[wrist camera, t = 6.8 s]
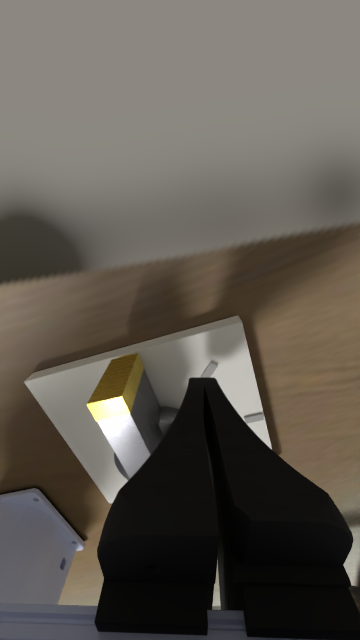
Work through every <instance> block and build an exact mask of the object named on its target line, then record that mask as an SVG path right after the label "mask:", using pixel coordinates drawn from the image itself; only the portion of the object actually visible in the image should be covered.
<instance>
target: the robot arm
mask: <svg viewBox="0 0 360 640" xmlns="http://www.w3.org/2000/svg"><path fill="white" fill-rule="evenodd" d="M352 543H353V536H352V533H351V531H350V529H349V527H348V525H347V523H346V521H345V520H344V518H343V516H342V514H341V513H340V511H339V510H338V508H337V507H336V505H335V504H334V502H333V500H332V499H331V497H330V496H329V494H328V493H327V492H325V491H324V490H322V489H321V488H320V487H318V486H317V485H315V484H314V483H313V482H311V481H310V480H308V479H307V478H306V477H304V476H303V475H301V474H300V473H299V472H297V471H296V470H295V469H294V468H292V467H291V466H290V465H289V464H287V463H286V462H285V461H284V460H283V459H282V458H281V457H279V456H278V455H277V454H276V453H275V452H274V451H273V450H272V449H270V448H269V447H268V446H267V445H266V444H265V443H264V442H263V441H262V440H261V439H260V438H259V437H258V436H257V435H256V434H255V433H254V431H253V430H252V429H251V428H250V427H249V426H248V425H247V424H246V422H245V421H244V420H243V419H242V418H241V416H240V415H239V414H238V412H237V411H236V410H235V408H234V407H233V406H232V404H231V403H230V401H229V400H228V398H227V397H226V395H225V394H224V392H223V391H222V389H221V387H220V385H219V384H218V382H217V380H216V379H215V378H214V377H191V378H190V379H189V382H188V387H187V391H186V394H185V396H184V399H183V402H182V404H181V406H180V409H179V411H178V413H177V415H176V417H175V419H174V421H173V422H172V424H171V426H170V428H169V429H168V431H167V433H166V434H165V436H164V437H163V439H162V440H161V442H160V443H159V444H158V446H157V447H156V449H155V450H154V451H153V453H152V454H151V455H150V456H149V458H148V459H147V460H146V461H145V462H144V464H143V465H142V466H141V467H140V468H139V470H138V471H137V472H136V473H135V474H134V475H133V476H132V477H131V478H130V479H129V480H128V481H127V482H126V483H125V484H124V486H123V487H122V488H121V489H120V490H119V491H118V493H117V495H116V497H115V499H114V501H113V504H112V506H111V508H110V510H109V513H108V516H107V518H106V521H105V524H104V527H103V530H102V534H101V538H100V541H99V545H98V549H97V556H98V560H99V563H100V566H101V569H102V573H103V576H104V582H103V586H102V591H101V595H100V599H99V604H98V606H79V605H57V604H58V601H59V598H60V595H61V592H62V589H63V587H64V584H65V581H66V578H67V575H68V572H69V569H70V566H71V563H72V560H73V557H74V554H75V551H79V550H83V549H84V546H85V543H84V541H83V540H82V539H81V538H80V537H79V536H78V534H77V533H76V532H75V531H74V530H73V529H72V527H71V526H70V525H69V524H68V523H67V522H66V520H65V519H64V518H63V517H62V516H61V515H60V513H59V512H58V511H57V510H56V509H55V508H54V506H53V505H52V504H51V503H50V502H49V501H48V499H47V498H46V497H45V496H44V495H43V494H42V492H41V491H40V490H38V489H35V488H33V489H28V490H22V491H17V492H12V493H7V494H2V495H0V640H360V612H359V610H358V608H357V605H356V603H355V601H354V599H353V597H352V594H351V592H350V590H349V588H348V587H350V586H351V582H350V579H349V577H348V575H347V573H346V570H345V568H344V566H343V564H344V562H345V560H346V558H347V556H348V554H349V552H350V550H351V547H352ZM217 557H218V571H219V586H220V601H221V610H212V603H213V591H214V584H215V580H216V568H217Z"/></svg>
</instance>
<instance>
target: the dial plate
mask: <svg viewBox="0 0 360 640" xmlns="http://www.w3.org/2000/svg"><path fill="white" fill-rule="evenodd" d="M136 353H138V354H139V356H140V359H141V361H142V363H143V366H144V369H145V372H146V374H147V376H148V379H149V381H150V384H151V386H152V388H153V391H154V393H155V395H156V398H157V400H158V402H159V405H160V407H172V408H176V409H180V406H181V404H182V402H183V399H184V396H185V394H186V391H187V387H188V382H189V379H190V378H191V377H214V378H215V379H216V380H217V382H218V384H219V385H220V387H221V389H222V391H223V392H224V394H225V395H226V397H227V398H228V400H229V401H230V403H231V404H232V406H233V407H234V408H235V410H236V411H237V412H238V414H239V415H240V416H241V418H242V419H243V420H244V421H245V422H246V424H247V425H248V426H249V427H250V428H251V429H252V430H253V431H254V433H255V434H256V435H257V436H258V437H259V438H260V439H261V440H262V441H263V442H264V443H265V444H266V445H267V446H268V447H269V448H270V449H272V447H271V442H270V438H269V434H268V430H267V425H266V421H265V417H264V413H263V408H262V404H261V400H260V396H259V392H258V387H257V383H256V379H255V375H254V370H253V366H252V362H251V358H250V354H249V349H248V345H247V341H246V337H245V332H244V328H243V324H242V321H241V319H240V318H239V316H238V315H237V316H233V317H230V318H226V319H223V320H219V321H215V322H212V323H208V324H205V325H201V326H198V327H194V328H191V329H187V330H183V331H180V332H176V333H173V334H169V335H166V336H162V337H158V338H155V339H151V340H148V341H144V342H141V343H137V344H133V345H130V346H126V347H123V348H119V349H116V350H112V351H109V352H105V353H101V354H98V355H94V356H91V357H87V358H84V359H80V360H76V361H73V362H69V363H66V364H62V365H59V366H55V367H52V368H48V369H44V370H41V371H37V372H34V373H33V374H32V375H30V376H29V377H28V378H27V379H26V380H25V381H24V383H25V384H26V386H27V387H28V389H29V390H30V392H31V393H32V394H33V396H34V397H35V399H36V400H37V401H38V403H39V404H40V406H41V407H42V409H43V410H44V411H45V413H46V414H47V416H48V417H49V418H50V420H51V421H52V423H53V424H54V426H55V427H56V428H57V430H58V431H59V433H60V434H61V436H62V437H63V438H64V440H65V441H66V443H67V444H68V445H69V447H70V448H71V450H72V451H73V453H74V454H75V455H76V457H77V458H78V460H79V461H80V463H81V464H82V465H83V467H84V468H85V470H86V471H87V472H88V474H89V475H90V477H91V478H92V480H93V481H94V482H95V484H96V485H97V487H98V488H99V489H100V491H101V492H102V494H103V495H104V497H105V498H106V499H107V501H108V502H109V503H113V501H114V499H115V497H116V495H117V493H118V491H119V490H120V489H121V488H122V487H123V486H124V484H125V483H126V482H127V481H128V480H127V479H126V478H125V477H124V476H123V475H122V474H121V473H120V472H119V470H118V469H117V467H116V465H115V461H114V450H113V448H112V447H111V445H110V443H109V441H108V440H107V438H106V436H105V434H104V433H103V431H102V429H101V427H100V426H99V424H98V422H97V421H96V420H95V418H94V417H93V415H92V413H91V411H90V410H89V408H88V406H87V405H86V404H87V402H88V401H89V399H90V397H91V395H92V394H93V392H94V390H95V388H96V386H97V385H98V383H99V381H100V379H101V377H102V376H103V374H104V372H105V370H106V368H107V367H108V365H109V363H110V361H111V360H112V359H116V358H120V357H124V356H128V355H132V354H136Z"/></svg>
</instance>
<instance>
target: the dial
mask: <svg viewBox="0 0 360 640" xmlns="http://www.w3.org/2000/svg"><path fill="white" fill-rule="evenodd" d="M86 405H87V406H88V408H89V410H90V411H91V413H92V415H93V417H94V418H95V420H96V421H97V422H98V424H99V426H100V427H101V429H102V431H103V433H104V434H105V436H106V438H107V440H108V441H109V443H110V445H111V447H112V448H113V450H114V461H115V465H116V467H117V469H118V470H119V472H120V473H121V474H122V475H123V476H124V477H125V478H126V479H127V480H129V479H130V478H131V477H132V476H133V475H134V474H135V473H136V472H137V471H138V470H139V468H140V467H141V466H142V465H143V464H144V462H145V461H146V460H147V459H148V458H149V456H150V455H151V454H152V453H153V451H154V450H155V449H156V447H157V446H158V444H159V443H160V442H161V440H162V439H163V437H164V436H165V434H166V433H167V431H168V429H169V428H170V426H171V424H172V422H173V421H174V419H175V417H176V415H177V413H178V411H179V409H176V408H172V407H160V405H159V402H158V400H157V398H156V395H155V393H154V391H153V388H152V386H151V384H150V381H149V379H148V376H147V374H146V372H145V369H144V366H143V363H142V361H141V359H140V356H139V354H138V353H136V354H132V355H128V356H124V357H120V358H116V359H112V360H111V361H110V363H109V365H108V367H107V368H106V370H105V372H104V374H103V376H102V377H101V379H100V381H99V383H98V385H97V386H96V388H95V390H94V392H93V394H92V395H91V397H90V399H89V401H88V402H87V404H86Z"/></svg>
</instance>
